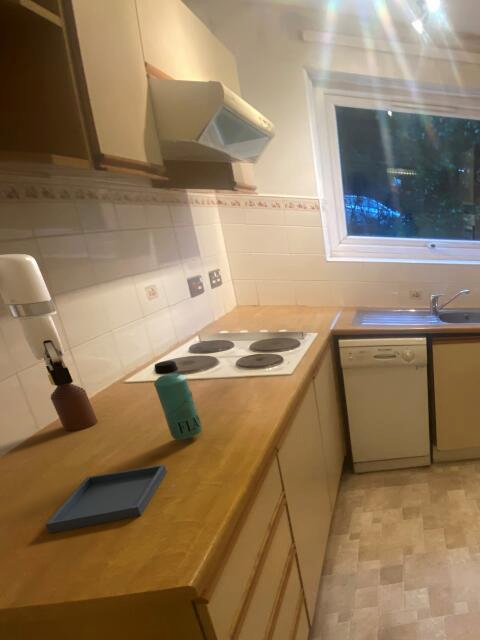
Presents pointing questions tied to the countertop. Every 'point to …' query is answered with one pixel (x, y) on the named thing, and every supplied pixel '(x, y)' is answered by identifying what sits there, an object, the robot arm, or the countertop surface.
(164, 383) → the beverage bottle
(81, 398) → the sauce bottle
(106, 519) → the tray
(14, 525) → the countertop surface
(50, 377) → the cap
